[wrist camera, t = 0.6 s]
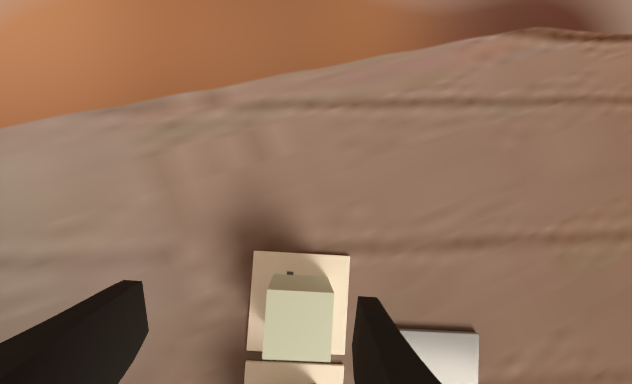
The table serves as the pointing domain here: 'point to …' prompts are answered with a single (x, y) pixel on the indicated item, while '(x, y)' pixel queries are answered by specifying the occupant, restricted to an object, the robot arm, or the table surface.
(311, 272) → the tile
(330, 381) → the plain tile
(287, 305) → the sage block
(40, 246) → the table surface
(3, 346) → the robot arm
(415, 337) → the light grey square plate
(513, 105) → the table surface
